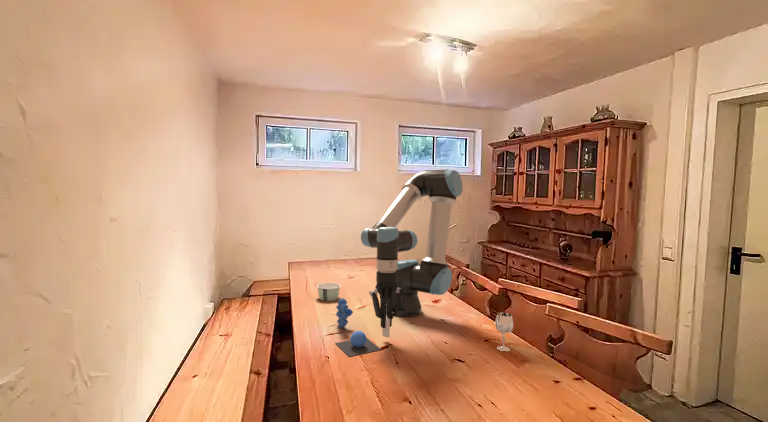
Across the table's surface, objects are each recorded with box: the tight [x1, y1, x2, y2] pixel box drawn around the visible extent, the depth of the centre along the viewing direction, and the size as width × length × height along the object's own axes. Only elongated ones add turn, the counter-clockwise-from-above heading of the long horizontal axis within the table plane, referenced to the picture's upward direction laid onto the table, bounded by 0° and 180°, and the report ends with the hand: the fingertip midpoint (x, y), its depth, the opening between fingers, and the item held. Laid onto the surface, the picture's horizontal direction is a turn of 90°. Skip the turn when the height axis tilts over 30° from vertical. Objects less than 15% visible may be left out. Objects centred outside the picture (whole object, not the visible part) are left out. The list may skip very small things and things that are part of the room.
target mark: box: [334, 337, 382, 358], centre depth 129 cm, size 12×12×1 cm
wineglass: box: [495, 312, 514, 353], centre depth 129 cm, size 6×6×12 cm
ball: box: [349, 330, 367, 348], centre depth 129 cm, size 6×6×6 cm
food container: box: [316, 282, 342, 302], centre depth 188 cm, size 12×12×6 cm
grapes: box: [335, 298, 354, 329], centre depth 147 cm, size 12×7×12 cm, turn 18°
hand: (385, 335), depth 134 cm, fingers closed
